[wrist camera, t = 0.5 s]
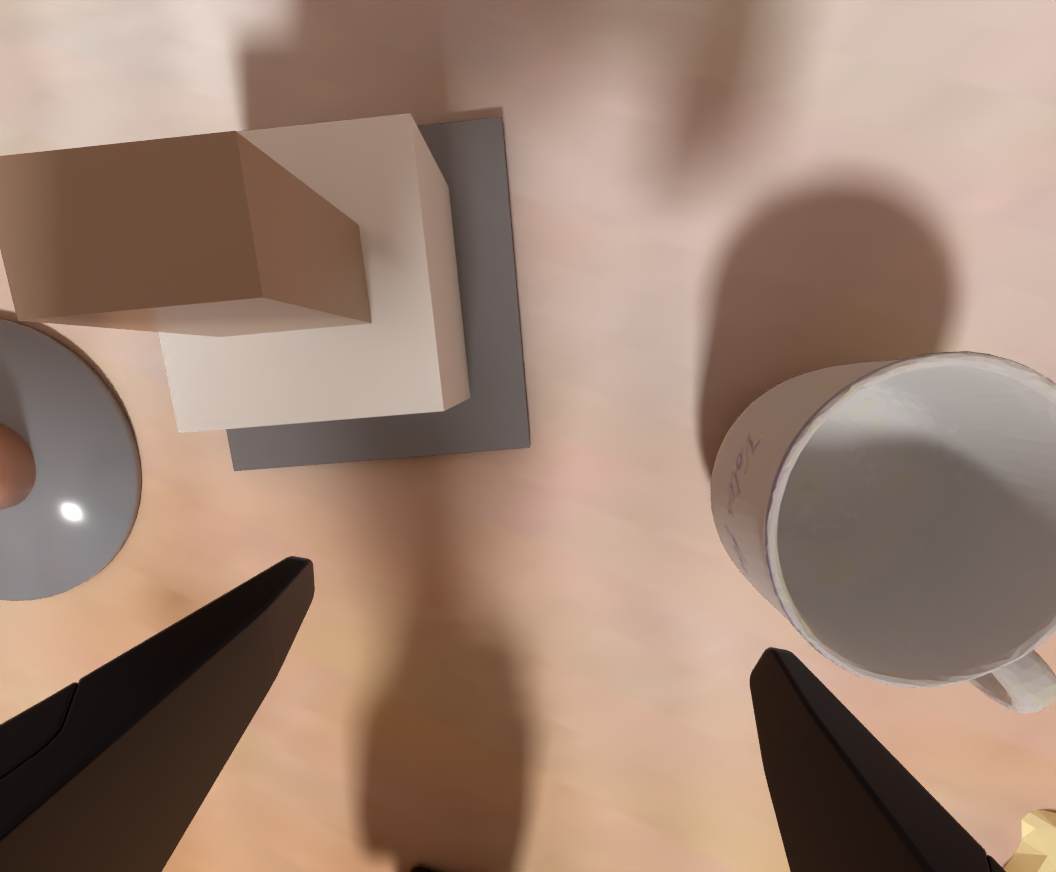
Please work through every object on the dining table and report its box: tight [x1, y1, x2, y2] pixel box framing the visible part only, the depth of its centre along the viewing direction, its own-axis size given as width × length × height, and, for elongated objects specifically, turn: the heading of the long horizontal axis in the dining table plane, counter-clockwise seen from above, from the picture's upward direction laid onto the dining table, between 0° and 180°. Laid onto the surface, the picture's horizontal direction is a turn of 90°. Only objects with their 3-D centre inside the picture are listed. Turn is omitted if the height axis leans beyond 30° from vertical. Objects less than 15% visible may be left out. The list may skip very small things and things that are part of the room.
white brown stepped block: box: [0, 113, 470, 433], centre depth 15 cm, size 9×9×12 cm
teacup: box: [711, 351, 1056, 713], centre depth 18 cm, size 14×11×8 cm
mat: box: [226, 117, 530, 471], centre depth 21 cm, size 14×14×1 cm
